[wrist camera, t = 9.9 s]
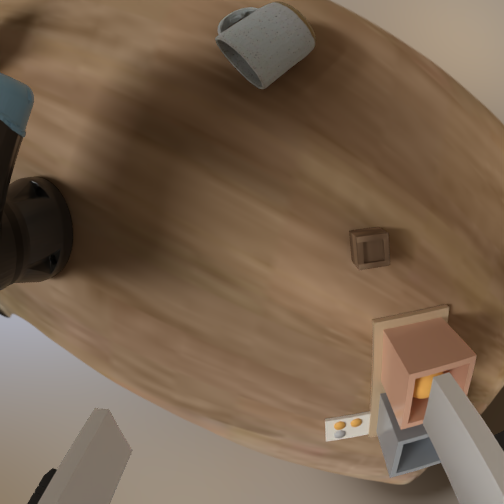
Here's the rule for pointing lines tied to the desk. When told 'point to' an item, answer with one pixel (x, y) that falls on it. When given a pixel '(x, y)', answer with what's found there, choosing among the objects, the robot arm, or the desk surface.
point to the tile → (347, 426)
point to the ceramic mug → (265, 41)
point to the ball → (424, 386)
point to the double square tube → (411, 382)
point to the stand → (370, 248)
